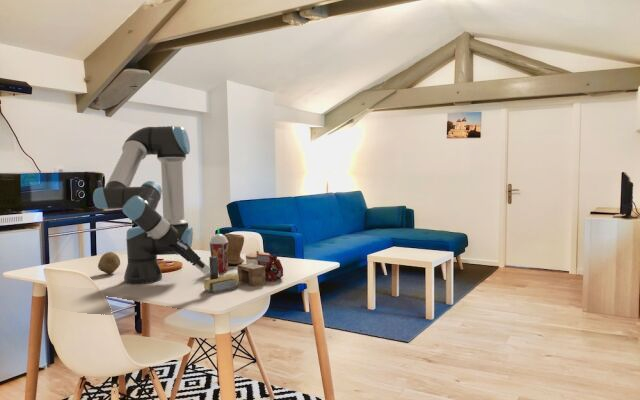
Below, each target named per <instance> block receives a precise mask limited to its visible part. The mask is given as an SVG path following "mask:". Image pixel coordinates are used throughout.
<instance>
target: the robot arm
mask: <svg viewBox="0 0 640 400" xmlns="http://www.w3.org/2000/svg"><path fill="white" fill-rule="evenodd" d="M190 146H191V145H190V140H189V135H188V133H187V131H186V129H185V128H184V127H182V126H176V125H175V126H174V125H170V126H146V127H142V128H140V129H137V130H136V131H135V132H133V133H131V135H129V136H128V137H127V139H126V140H125V141H124V143H123V145H122V147H121V151H122V153H121V155H120V157H119V159H118V161H117V163H116V164H115V167H114V169H113V171H112V173H111V175H110V177H109V179H108V181H107V183H106V185H105V186H104V187H103V186H102V187H97V188H95V190H94V191H93V194H92V201H93V204H94V206H95V208H97V209H100V210H101V209H103V210H113V209H114V210H118V209H119V210H120V209H122V213H123V214H124V215H125V216H127V217H126V218H128V219H129V220H130V221H132V222H133V223H134V224H135V225H136V226H135V227H129V228H128V229H127V230H126V239H125V240H126V253H127V254H126V255H127V266H126V269H125V272H124V277H123V281H124V283H125V282H126V283H125V284H128V283H130V284H131V285H140V284H142V285H143V284H149V283H155V282H159V281H160V280H162V279H163V273H162V269H161V267H160V265H159V263H158V256H165V255H167V256H168V255H169V256H171V255H176V256H178V255H180V257H182V258H183V259H185V260H186V262H188V263H189V262H190V264H192V266H193V267H196V269H198V270H199V271H200V272H201V273H203V274H204V275H205V276H206V275H208V273H210V270H211V269H210V266H208V265H207V264H206V263H204V261H202V260H201V259H202V257H200V255H198V254H197V253H196V252H195V250H193V249H192V248H191V247H192V244H193V239H194V232H193V231H194V229H193V227H192V226H191V225H189V222H188V221H187V220H186V218H185V202H184V201H185V199H184V198H185V197H184V196H185V195H184V175H183V173H184V171H183V167H184V166H183V162H184V161H185V160H186V158H187V156H186V155H190V152H191V151H190V150H191V147H190ZM150 155H154V156H155V155H156V159H157V160H158V161H159V162H160V166H161V186H160V185H159V183H157V182H155V181H153V180H147V181H145V182H143V183H142V185H140V186H131V184H132V182H133V181H134V177H135V176H136V173H137V171H138V169H139V166H140V165H141V163H142V161H143V160H144V159H146V158H147V156H150ZM161 198H162V215H161V214H160V213H158V212H157V208H158V205H159V202H160V201H161Z"/></svg>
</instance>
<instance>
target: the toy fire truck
mask: <svg viewBox="0 0 640 400" xmlns="http://www.w3.org/2000/svg"><path fill="white" fill-rule="evenodd" d="M257 261H258V265H261V266H265V280H266V281H268V282H273V281H275V280H276V279H277V280H279V279H281V278H283V277H284V267H283V265H282V262H281V260H280V259H279V258H278V256H277V255H276V254H273V255H271V254H270V255H265V254H258V255H257Z"/></svg>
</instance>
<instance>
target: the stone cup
mask: <svg viewBox="0 0 640 400" xmlns="http://www.w3.org/2000/svg"><path fill="white" fill-rule="evenodd" d="M223 235H224V236H225V237H226V238H227V240H228V265H241V264H244V263H245V260H244V259H243V258H241V253H242V250H243V247H244V244H245V236H244V235H243V234H242V235H241V234H234V233H225V234H223Z"/></svg>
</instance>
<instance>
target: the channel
mask: <svg viewBox="0 0 640 400" xmlns="http://www.w3.org/2000/svg"><path fill="white" fill-rule="evenodd" d="M237 285H238V284H237V283H236V279H233V280H228V281H223V282H218V283H213V284H212V289H211V290H208V289H205V288H204V291H206V292H208V293H211V294H219V293H222V292H227V291H232V290H237V289H238V287H237Z"/></svg>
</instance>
